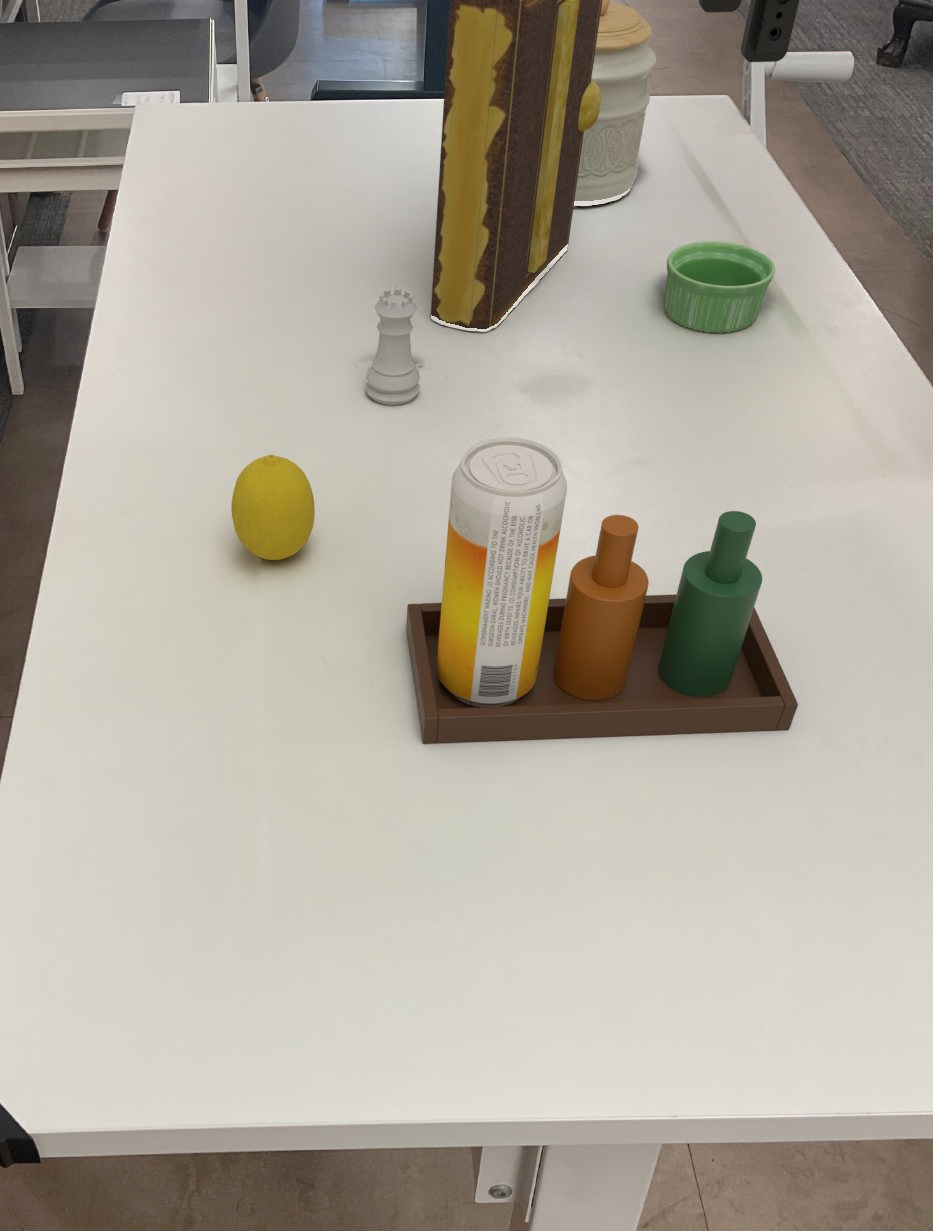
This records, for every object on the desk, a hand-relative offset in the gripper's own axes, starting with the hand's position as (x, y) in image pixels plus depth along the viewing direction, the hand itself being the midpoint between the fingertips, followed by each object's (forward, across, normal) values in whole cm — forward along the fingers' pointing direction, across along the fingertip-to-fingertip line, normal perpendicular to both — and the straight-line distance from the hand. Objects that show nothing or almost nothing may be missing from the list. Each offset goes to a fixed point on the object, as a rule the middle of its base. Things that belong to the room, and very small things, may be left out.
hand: (738, 33), depth 67 cm
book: (+30, +38, +4) cm, 49 cm away
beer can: (+30, -18, +13) cm, 37 cm away
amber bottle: (+30, -18, +7) cm, 35 cm away
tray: (+30, -18, +7) cm, 36 cm away
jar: (+30, +59, -6) cm, 67 cm away
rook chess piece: (+30, +18, +16) cm, 39 cm away
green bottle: (+30, -18, 0) cm, 35 cm away
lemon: (+30, -4, +26) cm, 40 cm away
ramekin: (+30, +30, -13) cm, 45 cm away
